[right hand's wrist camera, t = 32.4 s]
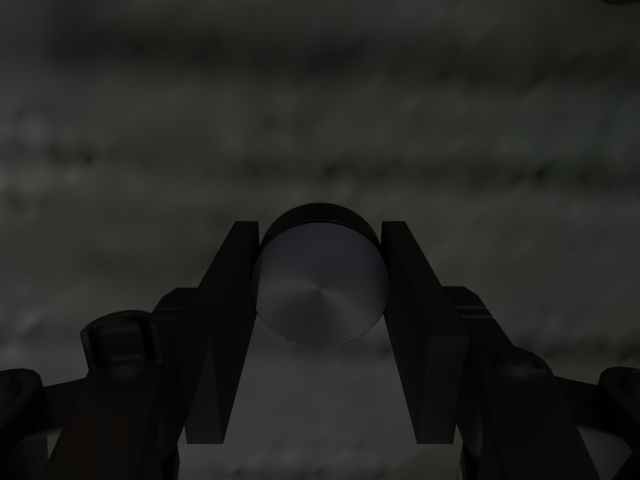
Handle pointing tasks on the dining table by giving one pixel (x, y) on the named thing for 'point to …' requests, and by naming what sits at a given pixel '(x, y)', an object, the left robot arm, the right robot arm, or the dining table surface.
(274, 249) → the cap
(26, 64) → the dining table surface
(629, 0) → the bottle
